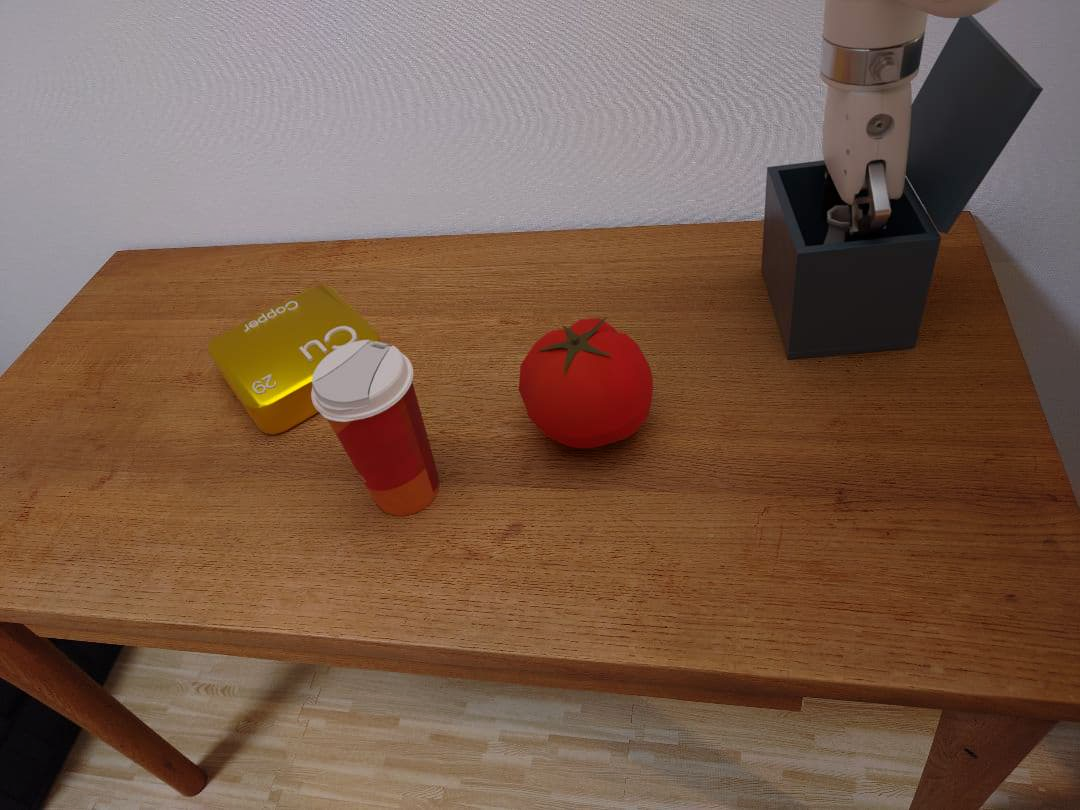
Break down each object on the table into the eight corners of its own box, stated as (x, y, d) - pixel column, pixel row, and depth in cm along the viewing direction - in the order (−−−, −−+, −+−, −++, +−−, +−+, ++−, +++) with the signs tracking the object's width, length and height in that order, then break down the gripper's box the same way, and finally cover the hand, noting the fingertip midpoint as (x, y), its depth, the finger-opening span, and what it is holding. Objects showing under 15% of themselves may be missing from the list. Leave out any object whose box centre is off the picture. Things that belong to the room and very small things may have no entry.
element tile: (336, 308, 94) (323, 275, 91) (397, 369, 85) (384, 335, 82) (218, 370, 89) (199, 338, 86) (268, 443, 80) (249, 409, 77)
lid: (1033, 86, 58) (1043, 88, 58) (962, 12, 68) (971, 14, 69) (938, 232, 67) (947, 233, 67) (888, 146, 77) (896, 148, 77)
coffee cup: (394, 446, 77) (345, 327, 66) (468, 468, 74) (428, 345, 63) (344, 513, 72) (282, 395, 61) (420, 539, 69) (368, 419, 58)
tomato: (667, 391, 77) (662, 299, 69) (641, 482, 69) (632, 391, 62) (549, 377, 81) (532, 289, 73) (512, 463, 73) (489, 375, 65)
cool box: (787, 359, 77) (797, 253, 69) (761, 269, 88) (766, 166, 79) (915, 348, 76) (941, 237, 67) (873, 257, 86) (891, 151, 78)
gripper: (957, 92, 57) (917, 291, 69) (888, 9, 70) (865, 189, 82) (848, 108, 58) (828, 300, 70) (800, 23, 71) (790, 199, 83)
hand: (848, 240), depth 76 cm, fingers open, 7 cm apart
